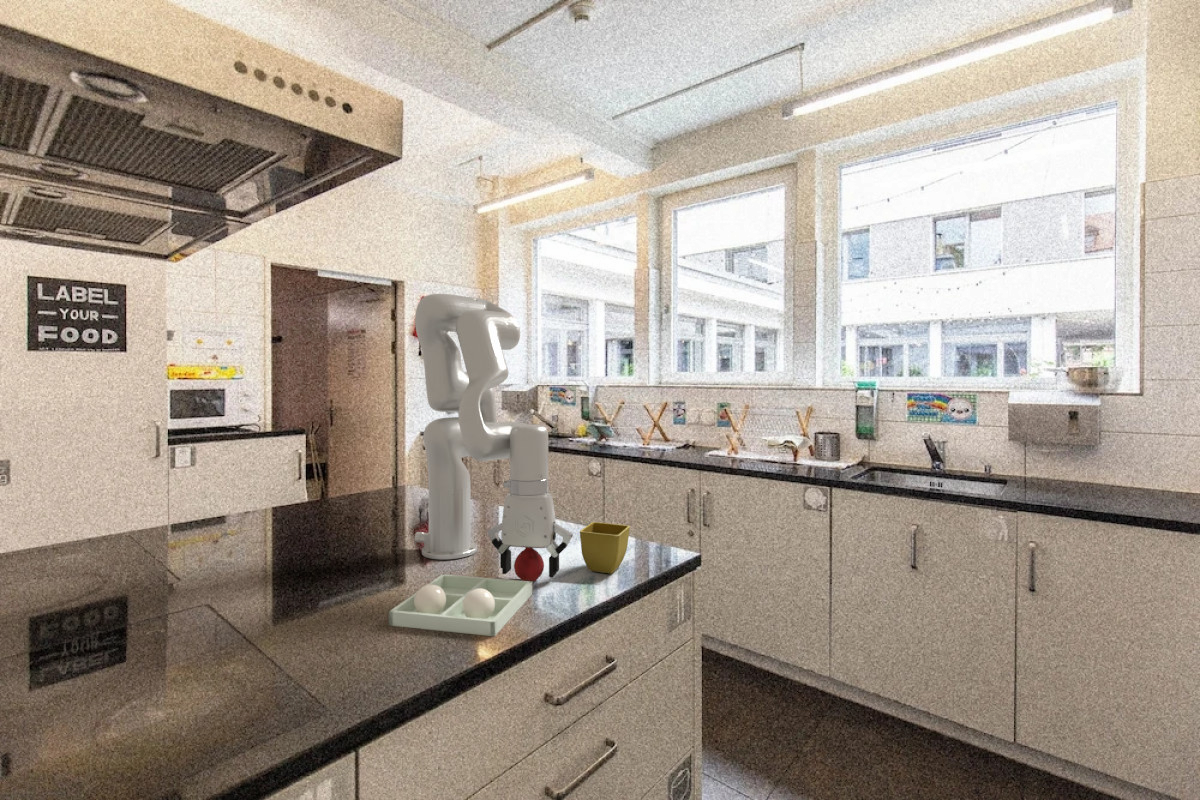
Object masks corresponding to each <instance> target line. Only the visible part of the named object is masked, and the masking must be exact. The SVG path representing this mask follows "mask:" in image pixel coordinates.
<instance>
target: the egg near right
mask: <svg viewBox="0 0 1200 800" xmlns="http://www.w3.org/2000/svg"><path fill="white" fill-rule="evenodd" d="M494 608H495V600H494V597H493V595H492V594H491V593H490V592H489V591H488V590H486V589H482V588H478V589H474V590H472V591H470V592H469V593H468V594H467V595H466V597H465V598H464V601H463V612H464V614H465V616H466V617H469V618H480V619H488V618H489V617H490V616H491V615H492V613H493V611H494Z"/></svg>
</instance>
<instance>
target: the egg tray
mask: <svg viewBox="0 0 1200 800" xmlns="http://www.w3.org/2000/svg"><path fill="white" fill-rule="evenodd" d="M429 584H434V585H438V586H439V587H441V588H442V589H443V590H444V592H445V594H446V604H445V607H444V608H443V610H442V611H441V612H440V613H439V614H428V613H418V612H417V611H416V610H415V607H414V597H415V595H416V593H417V591H416V592H415V593H414V594H412V595H411V596H409V597H408V598H406V599H405V600H403V601H402V602H400V603H399V604H398V605H395V607H393V608H392V609H391V610H389V611H388V626H390V627H391V626H392V627H398V628H400V627H402V628H409V629H411V628H412V629H420V630H429V631H430V630H431V631H437V632H438V631H439V632H449V633H457V634H458V633H460V634H468V635H469V634H470V635H475V636H477V635H479V636H487V637H488V636H489V637H496V636H497V634H499V632H501V630H502V629H503V628H504V627H505V626H506V625H507V623H508V622H509V621H510V619H512V618H513V616H514V615H515V614H516V613H517V611H519V609H521V607H523V605H524V604H525V603H526V602H527V600H528V599H529V598H530V597H531V596H532V595H533V582H532V581H522V580H521V579H520V580H517V579H506V578H505V579H504V578H494V577H483V576H481V577H480V576H469V575H456V574H455V575H454V574H446V573H442V574H440V575H439V576H438V577H436V578H434V580H431V582H429V583H428V584H427V585H429ZM478 588H482V589H486V590H488V591H489V592H490V593H491V594H492V595H493V597H494V600H495V608H494V611H493V613H492V615H491V616H490V617H489V618H488V619H480V618H469V617H466V616H465V614H464V612H463V601H464V598H465V597H466V595H467V594H468V593H469V592H470V591H472V590H474V589H478Z"/></svg>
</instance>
